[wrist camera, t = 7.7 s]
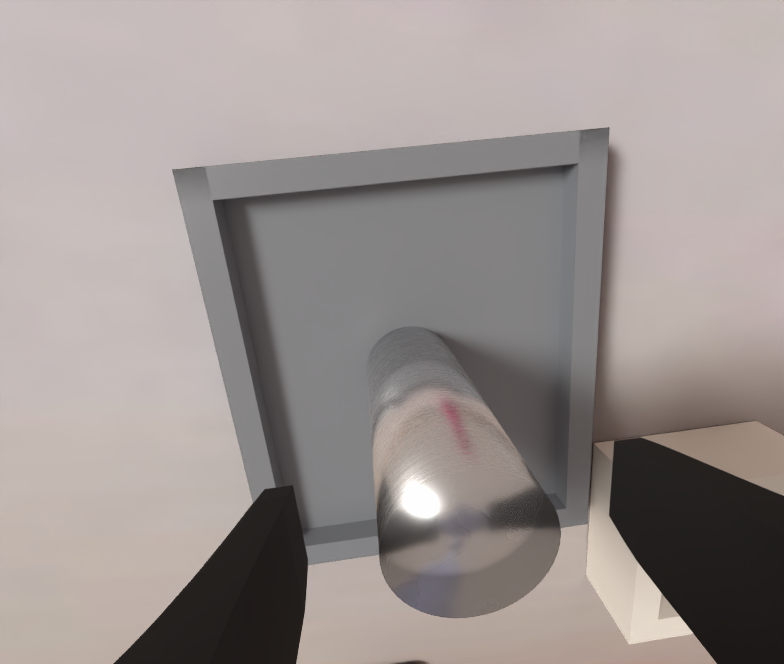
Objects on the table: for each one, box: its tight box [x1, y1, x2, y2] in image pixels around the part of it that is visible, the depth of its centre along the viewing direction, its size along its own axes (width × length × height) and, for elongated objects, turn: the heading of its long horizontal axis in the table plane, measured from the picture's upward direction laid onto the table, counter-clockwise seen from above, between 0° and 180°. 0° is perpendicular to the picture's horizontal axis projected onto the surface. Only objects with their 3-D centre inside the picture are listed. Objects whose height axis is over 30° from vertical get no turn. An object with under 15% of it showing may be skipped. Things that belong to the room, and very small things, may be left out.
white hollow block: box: [586, 421, 784, 644], centre depth 19 cm, size 8×8×4 cm
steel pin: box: [366, 326, 561, 618], centre depth 12 cm, size 4×4×9 cm
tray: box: [172, 127, 609, 565], centre depth 16 cm, size 16×14×2 cm
